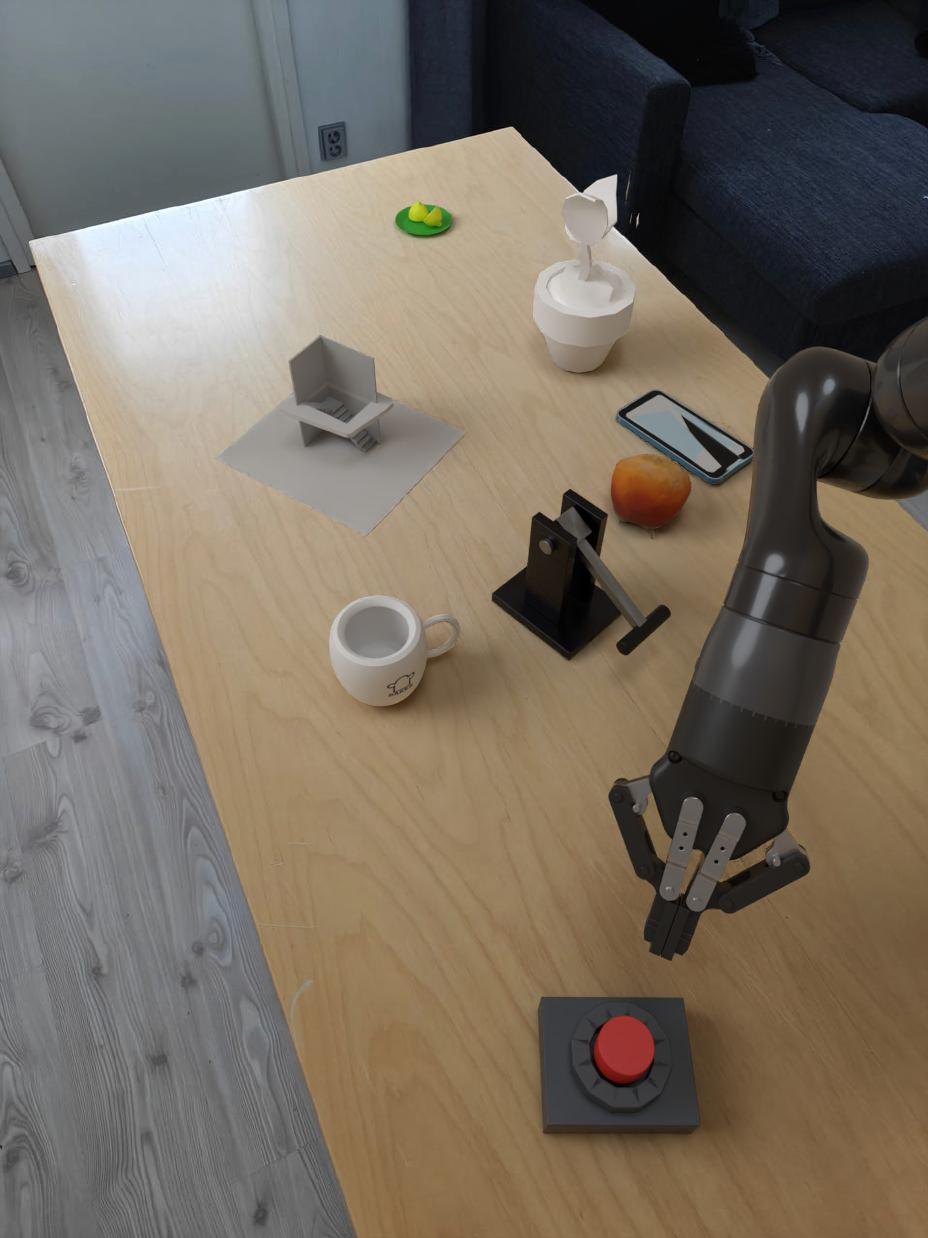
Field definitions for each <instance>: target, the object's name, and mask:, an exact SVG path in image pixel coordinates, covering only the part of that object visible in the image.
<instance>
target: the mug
mask: <svg viewBox="0 0 928 1238" xmlns="http://www.w3.org/2000/svg"><path fill="white" fill-rule="evenodd" d="M440 623H447V624H449V625H450V626H451V634H450V636H449V638H448V639H447V640H446V642H445V643H443V644H441V645H440V646H437V647H435V648H432V649H428V637H427V633H426V629H428V628H431V627H432V626H434V625H436V624H440ZM460 634H461V626H460V622H459V621H458V619H457V618H455V617H454V616H453V615H451V614H447V613H441V614H435V615H432V616H431V617H428V618H426V619H424V620H422V618H421V617H420V616H419V614H418V613H417V612H416V611H415V609H413V608H412V606H410V605H409V604H408V603H407V602H405V601H404V600H402V599H400V598H397V597H394V596H390V595H383V594H375V595H368V596H364V597H360V598H358V599H355V600H353V601H352V602H350V603H348V604H347V605H346V606H344V607H343V608H342V609H341V610H340V612H339V613H338V614H337V616H336V617H335V619H334V621H333V622H332V625H331V627H330V631H329V642H328V643H329V644H328V649H329V657H330V663H331V665H332V669H333V671H334V674H335V676H336V678H337V680H338V681H339V683H340V685H341V686H342V687H343V688H344V689H345V691H346V692H347V693H348V695H350V696H351V697H353V698H355V700H357V701H359V702H360V703H362V704H365V705H368V706H373V707H388V706H393V705H395V704H398V703H400V702H402V701H403V700H405V699H407V698H408V697H409V696H410V695H411V694H412V693H413V692H414V691H415V689H417V687H418V685H419V684H420V682H421V680H422V678H423V676H424V672H425V670H426V667H427V661H428V659H430V658H435V657H438V656H441V655H443V654H444V653H446V652H448V651H450V650H451V649H452V648H453V647H454V646H455V645H456V643H457V642H458V640H459V638H460Z"/></svg>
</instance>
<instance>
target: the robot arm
mask: <svg viewBox="0 0 928 1238" xmlns="http://www.w3.org/2000/svg"><path fill="white" fill-rule="evenodd" d="M752 449H753V459H752V467H751V471H752V472H751V486H750V494H749V502H748V503H749V505H748V513H747V519H746V527H745V534H744V540H743V542H742V547H741V550H740V552H739V556H738V559H737V562H736V565H735V567H734V570H733V573H732V575H731V579H730V582H729V584H728V587H727V590H726V593H725V595H724V598H723V601H722V604H723V605H722V606H721V607H720V609H719V612H718V614H717V616H716V618H715V620H714V621H713V624H712V625H711V627H710V630H709V632H708V633H707V636H706V638H705V640H704V643H703V646H702V648H701V651H700V654H699V657H697V659H696V661H695V665H694V671H693V674H692V676H691V679H690V682H689V685H688V688H687V691H686V694H685V697H684V699H683V702H682V705H681V707H680V711H679V713H678V717H677V720H676V722H675V725H674V727H673V731H672V733H671V736H670V739H669V742H668V745H667V748H666V750H665V752H664V754H663V755H662V756H661V757H660V758H659V759H658V760H657V761H655V762H654V764H653V765H652V766H651V769H650V771H649V774H646V775H642V776H639V777H636V778H632V779H627V778H625V777H618V778H616V779H614V781H613V783H612V785H611V787H610V790H609V792H608V795H607V797H608V802H609V805H610V807H611V810H612V813H613V815H614V818H615V821H616V823H617V827H618V829H619V832H620V834H621V838H622V841H623V843H624V845H625V849H626V852H627V854H628V856H629V859H630V863H631V865H632V868H633V871H634V873H635V875H636V876H637V878H639V879H640V880H643V881H647V883H649V884H650V885H651V886H652V887H653V889H654V891H655V895H654V898H653V901H652V903H651V905H650V906H651V907H650V909H649V911H648V915H647V917H646V920H645V923H644V928H643V941H645V942H648V943H649V949H648V952H649V953H651V954H652V955H655V956H656V957H657V956H658V957H660V958H662V959H665V960H667V961H668V962H669V961H670V962H672V961H673V958H674V957H675V954H676V955H679V956H682V957H683V955H685V954H686V953H687V952H688V950H689V948H690V945H691V943H692V940H693V937H694V934H695V931H696V929H697V926H698V924H699V921H700V918H701V916H702V914H703V913H704V912H705V911H709V910H720V911H721V912H722V913H724V914H727V915H733V914H735V913H737V912H739V911H740V910H743V909H744V908H747V907H748V906H751V905H752V904H755V903H756V902H758V901H760V900H762V899H764V898H766V897H767V896H769V895H771V894H773V893H775V892H777V891H779V890H781V889H783V888H786V887H787V886H789V885H791V884H792V883H794V882H796V881H799V879H802V878H804V877H805V876H807V875H808V874H809V873H810V871H811V862H810V857H809V854H808V852H807V849H806V847H804V846H803V845H802V844H800V843H798V842H797V840H796V839H795V837H794V835H793V834H792V833H791V831H790V830H789V829H788V826H789V824H790V823H789V822H790V813H789V809H788V802H789V797H790V793H791V791H792V789H793V786H794V783H795V781H796V779H797V775H798V772H799V770H800V767H801V765H802V762H803V760H804V757H805V754H806V753H807V749H808V746H809V745H810V744H809V743H810V741H811V739H812V736H813V733H814V731H815V728H816V726H817V722H818V720H819V717H820V714H821V712H822V709H823V707H824V704H825V701H826V699H827V696H828V693H829V691H830V688H831V686H832V685H831V684H832V683H833V678H834V675H835V669H836V665H837V660H838V656H839V652H840V649H841V646H842V645H841V643H842V642H843V640H844V638H845V635H846V632H847V630H848V627H849V624H850V621H851V619H852V617H853V614H854V611H855V609H856V606H857V603H858V599H860V596H861V592H862V589H863V587H864V584H865V582H866V579H867V577H868V572H869V568H870V567H869V566H870V557H869V554H868V551H867V550H866V549H865V547H864V546H863V545H862V544H861V543H859V542H858V541H856V540H855V539H853V538H852V537H850V536H848V535H847V534H845V533H843V532H842V531H840V530H839V529H836V528H835V527H833V526H832V525H830V524H829V523H828V522H827V521H826V520H825V519H824V518H823V516H822V515H821V512H820V507H819V500H818V499H819V498H818V482H819V483H820V484H821V483H822V484H825V485H828V486H830V487H833V488H834V487H835V488H837V489H841V490H843V491H847V492H849V493H854V494H856V495H859V496H863V497H865V498H869V499H874V500H882V501H883V500H884V501H898V500H899V501H900V500H907V499H912V498H916V497H918V496H921V495H923V494H925V493H926V492H928V315H927V316H925V317H923V318H921V319H919V320H918V321H916V322H915V323H913V324H911V325H909V326H908V327H907V328H906V329H904V330H903V331H902V332H900V333H899V334H897V336H895V337H894V338H893V339H892V340H891V341H890V342H889V343H888V344H887V345H886V346H885V348H884V349H883V350H882V352H881V354H880V355H879V357H878V359H877V361H876V362H874V361H871V360H868V359H866V358H861V356H857V355H855V354H851V353H848V352H845V351H843V350H840V349H835V348H832V347H828V346H827V347H826V346H821V345H820V346H810V347H806V348H804V349H802V350H799V351H797V352H795V353H794V354H793V355H791V356H789V357H788V358H786V360H784V362H782V364H781V365H780V366H778V368H777V369H776V370H775V371H774V373H772V375H771V377H770V378H769V380H768V381H767V383H766V385H765V387H764V389H763V391H762V394H761V396H760V399H759V402H758V405H757V410H756V415H755V423H754V429H753V445H752ZM650 794H651V795H652V797H653V801H654V803H655V806H656V809H657V813H658V816H659V819H660V822H661V825H662V828H663V830H664V832H665V833H666V835H667V836H668V838H670V840H671V841H670V844H669V848H668V852H667V855H666V860H665V861H664V860H662V859H661V858H660V857H659V856H658V853H657V851H656V848H655V846H654V843H653V840H652V837H651V835H650V834H651V833H650V832H649V828H648V826H647V823H646V821H645V818H644V816H643V815H644V814H645V813H646V811H647V809H648V807H649V806H648V805H649V798H648V797H649V795H650ZM770 841H772V842H771V843H770V844H769V845H768V846H767V847H766V848H765V851H764V855H765V858H763V859H762V860H760V861H758V862H756V863H754V864H752V865H750V866H748V867H747V868H745V869H743V870H742V871H740V872H737V873H735V874H734V875H732V876H730V877H728V878H726V879H724V880H723V881H720V880H721V879H722V877H723V874H724V872H725V869H727V868H726V867H727V866H728V863H729V861H736V860H739V859H741V858H744V857H745V856H746V855H748V854H750V853H751V852H753V851H754V850H755V851H756V849H758V848H760V847H761V846H763V845H765V844H766V843H768V842H770ZM694 850H695V851H700V852H701V853H700V857H699V860H698V862H697V864H696V867H695V869H694V870H693V872H692V875H691V877H690V879H689V881H688V884H687V886H686V889H685V891H684V893H683V892H681V890H682V886H683V882H684V879H685V875H686V873H687V872H686V871H687V868H688V866H689V863H690V858H691V855H692V851H694Z"/></svg>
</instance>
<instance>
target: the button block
mask: <svg viewBox="0 0 928 1238" xmlns="http://www.w3.org/2000/svg"><path fill="white" fill-rule="evenodd" d="M617 1016H631V1017H634V1018H636V1019H638V1020H639V1021H641V1022H642V1023H643V1024H644V1025H645V1026H646V1027H647V1028H648V1029H649V1031H650V1033H651V1034H652V1037H653V1040H654V1045H655V1054H654V1058H653V1061H652V1063H651V1064H650V1066H649V1067H648V1069H647V1070H646V1071H645V1073H644V1074H643V1075H642V1076H641V1077H640V1078H639V1079H638V1080H636V1081H634V1082H632V1083H627V1084H621V1083H616V1082H614V1081H612V1080H610V1079H608V1078H607V1077H606V1076H605V1075H603V1073H602V1072H601V1071H600V1069H599V1068H598V1066H597V1064H596V1061H595V1057H594V1045H595V1042H596V1039H597V1037H598V1035H599V1033H600V1031H601V1029H602V1027H603V1026H604V1025H605V1023H606V1022H607V1021H609V1020H610V1019H612V1018H614V1017H617ZM537 1019H538V1020H537V1021H538V1045H539V1047H538V1048H539V1069H540V1090H541V1091H540V1093H541V1112H542V1113H541V1115H542V1133H543V1134H615V1135H617V1134H618V1135H619V1134H620V1135H621V1134H625V1135H626V1134H627V1135H628V1134H630V1135H631V1134H633V1135H635V1134H639V1135H645V1134H646V1135H647V1134H649V1135H653V1134H655V1135H658V1134H659V1135H670V1134H671V1135H676V1134H677V1135H688V1134H689V1135H690V1134H692V1133H694V1132H695V1131H696V1130H697V1129H698V1128H700V1127H701V1126H702V1125H701V1124H702V1123H701V1116H700V1109H699V1102H698V1095H697V1087H696V1081H695V1072H694V1065H693V1064H694V1063H693V1058H692V1057H693V1056H692V1050H691V1049H692V1048H691V1043H690V1042H691V1041H690V1035H689V1028H688V1020H687V1014H686V1005H685V999H684V997H674V996H673V997H672V996H671V997H663V996H661V997H660V996H658V997H657V996H656V997H655V996H654V997H653V996H646V997H645V996H619V997H618V996H541V997H540V1001H539V1004H538V1008H537Z"/></svg>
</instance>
